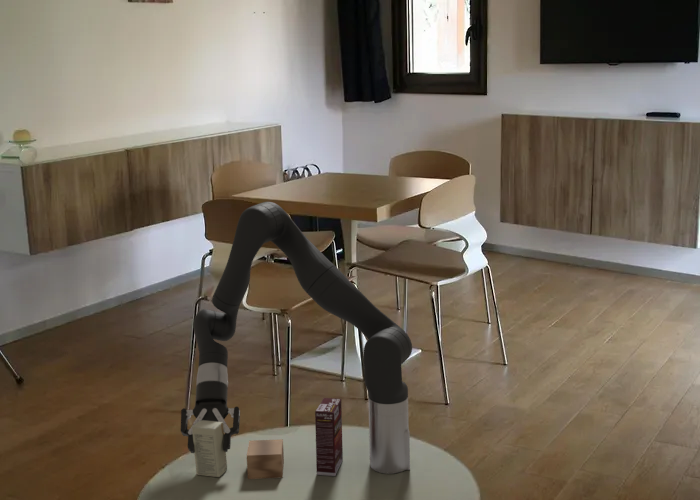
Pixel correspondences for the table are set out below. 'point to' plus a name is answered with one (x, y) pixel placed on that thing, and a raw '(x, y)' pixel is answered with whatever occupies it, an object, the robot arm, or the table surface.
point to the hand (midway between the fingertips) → (208, 451)
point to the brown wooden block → (265, 459)
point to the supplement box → (328, 436)
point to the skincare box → (209, 448)
